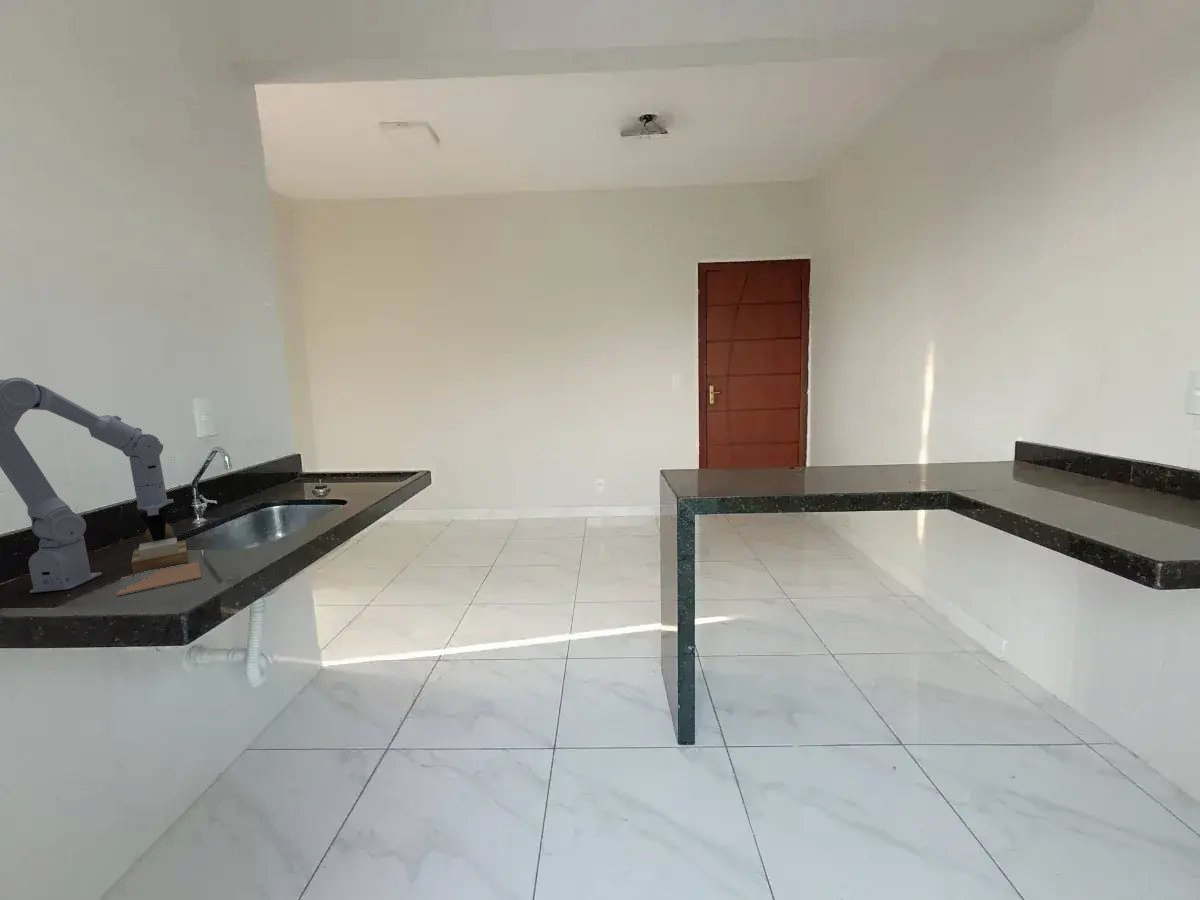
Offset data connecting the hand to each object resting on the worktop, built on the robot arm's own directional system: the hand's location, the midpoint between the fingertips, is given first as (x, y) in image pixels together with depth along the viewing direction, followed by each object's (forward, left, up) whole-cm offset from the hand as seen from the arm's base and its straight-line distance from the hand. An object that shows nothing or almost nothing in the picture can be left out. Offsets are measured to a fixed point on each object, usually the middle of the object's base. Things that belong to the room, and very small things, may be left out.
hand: (159, 539), depth 144 cm
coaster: (-7, -4, -1) cm, 8 cm away
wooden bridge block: (-5, -3, -4) cm, 7 cm away
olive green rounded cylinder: (+14, +8, -1) cm, 16 cm away
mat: (-18, -10, -4) cm, 21 cm away
